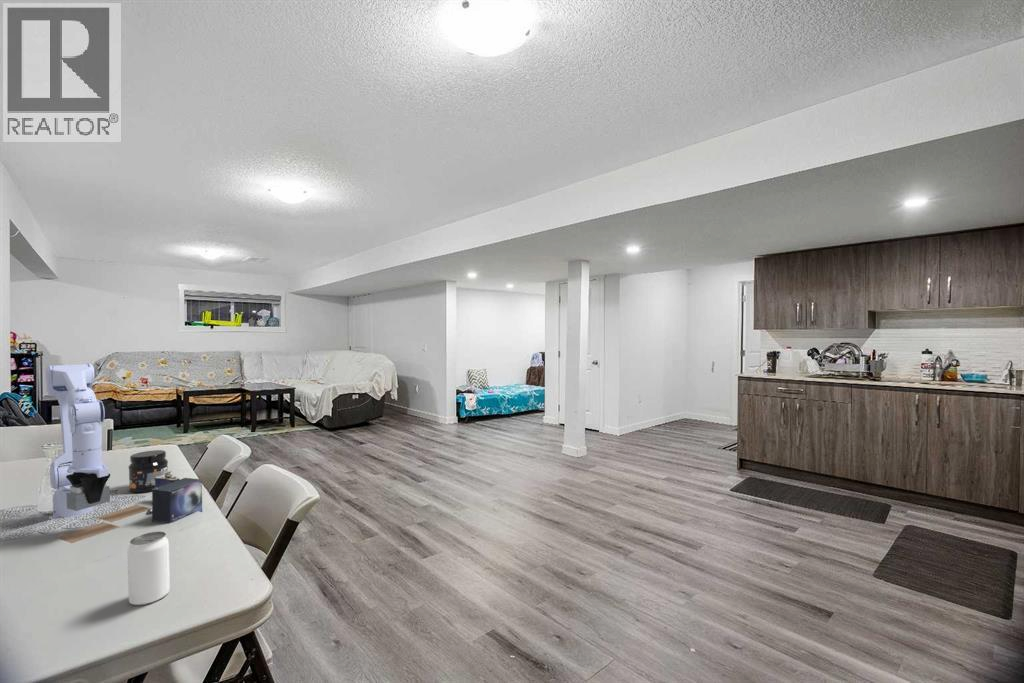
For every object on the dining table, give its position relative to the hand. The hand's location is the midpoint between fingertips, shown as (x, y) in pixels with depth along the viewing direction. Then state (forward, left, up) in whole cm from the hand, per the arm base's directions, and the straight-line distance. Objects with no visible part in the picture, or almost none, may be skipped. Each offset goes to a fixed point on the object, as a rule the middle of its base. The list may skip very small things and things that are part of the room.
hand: (89, 501), depth 120 cm
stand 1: (0, 0, -9) cm, 9 cm away
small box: (+10, +16, -10) cm, 21 cm away
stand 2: (-6, +11, -9) cm, 15 cm away
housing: (0, 0, -1) cm, 1 cm away
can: (+45, -10, -10) cm, 47 cm away
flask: (-4, +21, -10) cm, 23 cm away
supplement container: (-28, +29, -10) cm, 41 cm away
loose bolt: (+4, +15, -9) cm, 18 cm away
